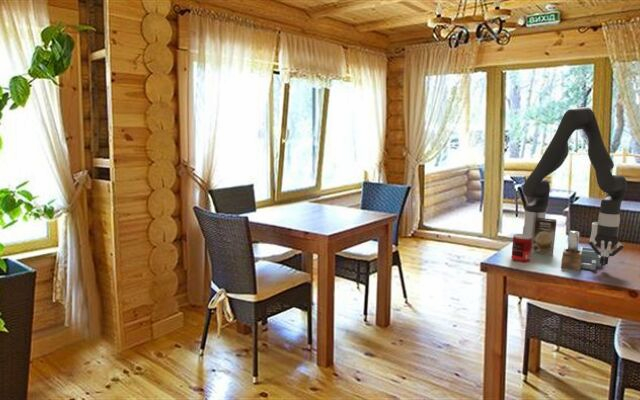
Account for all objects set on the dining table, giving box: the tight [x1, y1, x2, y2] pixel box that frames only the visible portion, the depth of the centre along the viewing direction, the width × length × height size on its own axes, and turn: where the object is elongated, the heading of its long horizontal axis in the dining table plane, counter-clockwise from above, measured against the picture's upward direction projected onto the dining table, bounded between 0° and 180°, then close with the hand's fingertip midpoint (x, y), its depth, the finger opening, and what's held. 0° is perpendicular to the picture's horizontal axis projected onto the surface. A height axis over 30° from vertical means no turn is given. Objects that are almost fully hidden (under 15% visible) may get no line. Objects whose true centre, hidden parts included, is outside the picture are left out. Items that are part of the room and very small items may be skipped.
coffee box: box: [531, 217, 557, 256], centre depth 229 cm, size 9×6×16 cm
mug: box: [589, 221, 598, 245], centre depth 252 cm, size 12×9×10 cm
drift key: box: [580, 260, 597, 271], centre depth 207 cm, size 10×4×3 cm, turn 60°
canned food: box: [511, 233, 532, 263], centre depth 217 cm, size 8×8×11 cm
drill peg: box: [567, 230, 580, 253], centre depth 208 cm, size 4×4×10 cm
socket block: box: [560, 247, 582, 272], centre depth 209 cm, size 7×10×7 cm
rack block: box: [579, 246, 602, 268], centre depth 214 cm, size 10×8×6 cm
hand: (603, 264), depth 203 cm, fingers closed
